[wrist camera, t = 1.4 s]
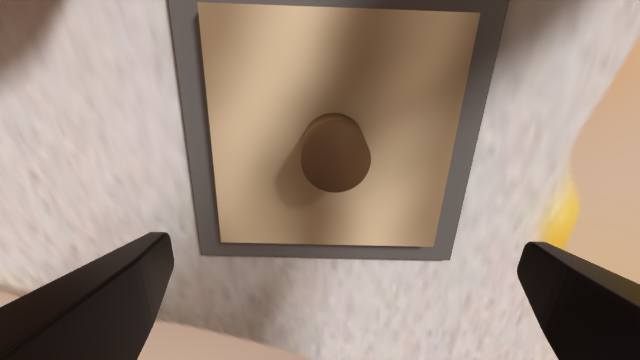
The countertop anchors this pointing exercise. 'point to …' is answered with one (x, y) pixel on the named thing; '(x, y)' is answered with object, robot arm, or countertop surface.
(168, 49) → the countertop surface
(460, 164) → the mat
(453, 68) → the lid
